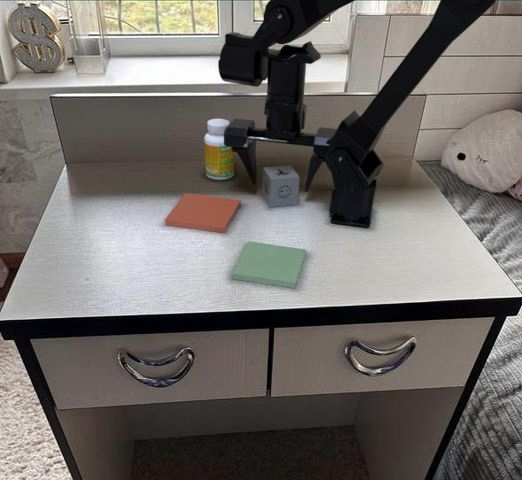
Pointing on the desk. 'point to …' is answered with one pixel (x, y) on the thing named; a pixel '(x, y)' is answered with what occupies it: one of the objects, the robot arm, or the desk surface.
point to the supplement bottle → (218, 151)
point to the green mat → (269, 264)
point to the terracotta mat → (203, 213)
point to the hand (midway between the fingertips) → (280, 187)
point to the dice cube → (280, 186)
